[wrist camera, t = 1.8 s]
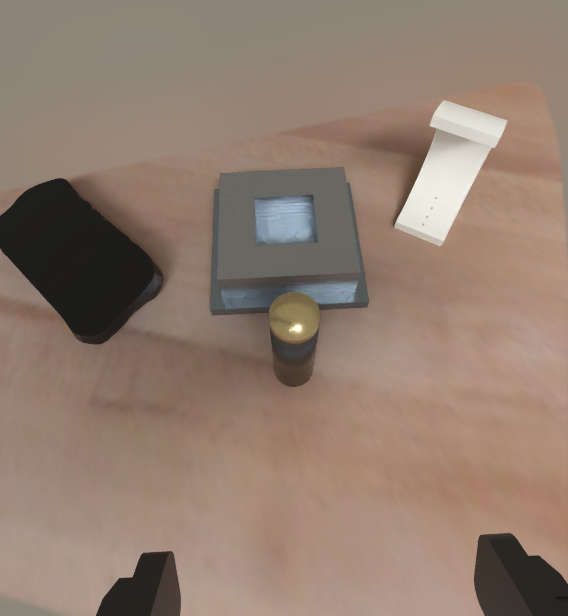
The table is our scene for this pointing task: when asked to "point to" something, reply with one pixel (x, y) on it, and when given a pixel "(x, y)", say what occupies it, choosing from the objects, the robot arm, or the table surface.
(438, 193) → the headphone stand
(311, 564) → the table surface
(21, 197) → the black sponge
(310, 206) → the square hole socket
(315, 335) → the brass pin
